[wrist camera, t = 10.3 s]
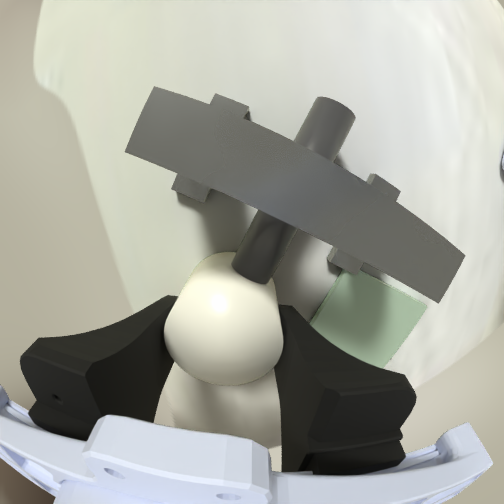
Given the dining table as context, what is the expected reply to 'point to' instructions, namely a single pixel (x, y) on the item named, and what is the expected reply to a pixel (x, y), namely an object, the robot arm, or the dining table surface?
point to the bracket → (292, 188)
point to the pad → (367, 317)
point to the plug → (245, 283)
